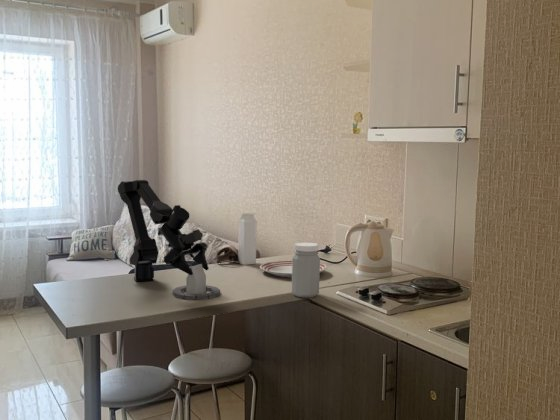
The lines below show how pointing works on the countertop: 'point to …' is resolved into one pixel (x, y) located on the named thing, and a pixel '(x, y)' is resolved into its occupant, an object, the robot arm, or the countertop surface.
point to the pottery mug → (227, 255)
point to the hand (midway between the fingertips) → (200, 271)
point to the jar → (305, 270)
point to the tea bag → (196, 280)
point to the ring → (178, 293)
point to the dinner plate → (283, 268)
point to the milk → (247, 239)
